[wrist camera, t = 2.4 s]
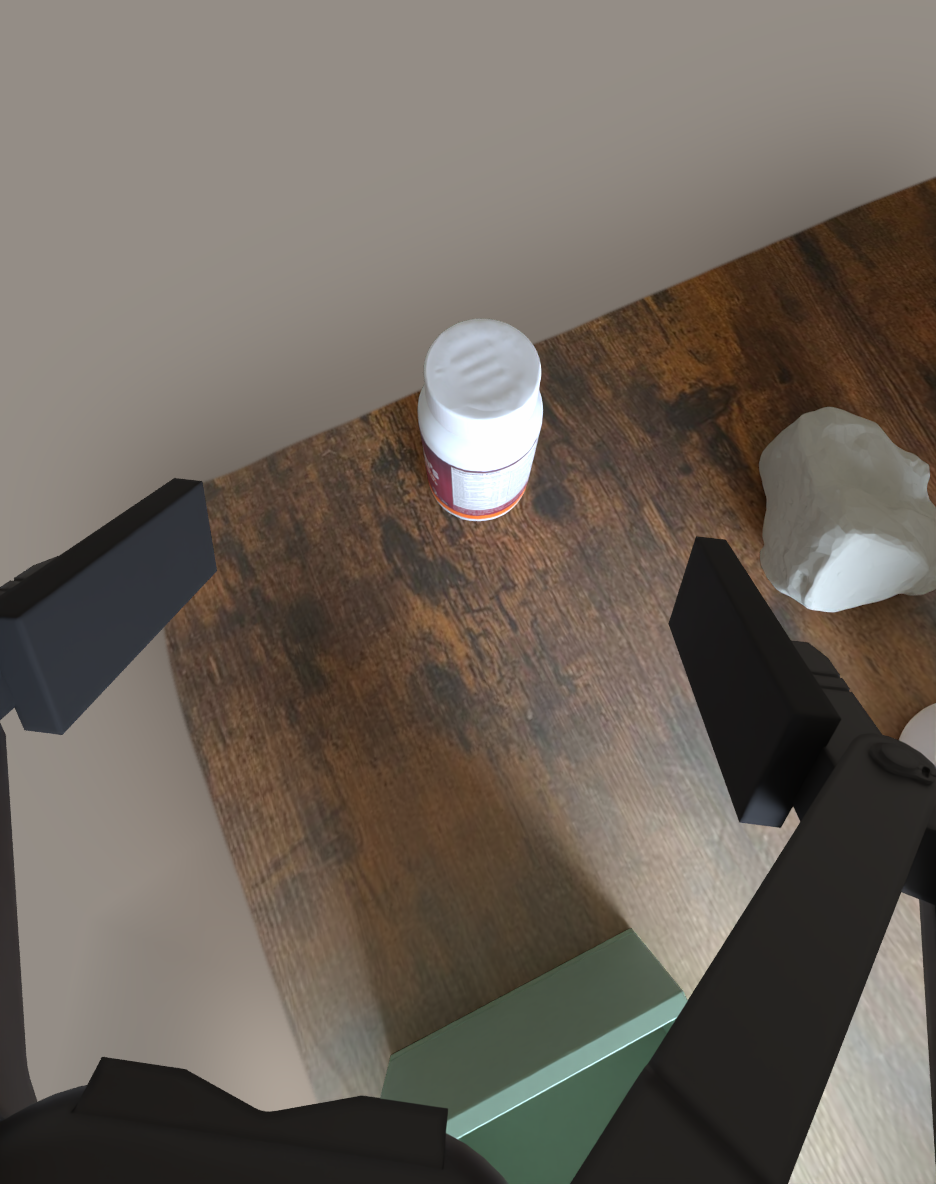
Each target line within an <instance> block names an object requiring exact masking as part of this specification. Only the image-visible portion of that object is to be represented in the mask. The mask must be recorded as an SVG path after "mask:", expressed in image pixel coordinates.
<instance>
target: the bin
mask: <svg viewBox="0 0 936 1184" xmlns="http://www.w3.org/2000/svg"><path fill="white" fill-rule="evenodd" d="M687 1001H688V1000H687V998H686V996H685V994H684V992H683V990H682V989H681V988H680V987H679V985H678V984H677V983H676V982H675V981H674V979H673V978H672V977H671V976H670V974H669V973H668V972H667V971H666V970H665V968H664V967H663V966H662V965H661V964H660V962H659V961H658V960H657V959H656V957H655V956H654V955H653V954H652V953H651V951H650V950H649V949H648V948H647V946H646V945H645V944H644V943H643V942H642V940H641V939H640V938H639V937H638V936H637V934H636V933H635V932H634V931H633V929H632V928H630V929H628V930H626V931H624V932H622V933H621V934H619V935H617V936H615V937H613V938H611V939H609V940H607V941H605V942H604V943H602V944H600V945H598V946H596V947H594V948H592V949H590V950H588V951H587V952H585V953H583V954H581V955H579V956H577V957H575V958H573V959H572V960H570V961H568V962H566V963H564V964H562V965H560V966H558V967H556V968H555V969H553V970H551V971H549V972H547V973H545V974H543V975H541V976H539V977H538V978H536V979H534V980H532V981H530V982H528V983H526V984H524V985H523V986H521V987H519V988H517V989H515V990H513V991H511V992H509V993H507V994H506V995H504V996H502V997H500V998H498V999H496V1000H494V1001H492V1002H490V1003H489V1004H487V1005H485V1006H483V1007H481V1008H479V1009H477V1010H475V1011H474V1012H472V1013H470V1014H468V1015H466V1016H464V1017H462V1018H460V1019H458V1020H457V1021H455V1022H453V1023H451V1024H449V1025H447V1026H445V1027H443V1028H441V1029H440V1030H438V1031H436V1032H434V1033H432V1034H430V1035H428V1036H426V1037H425V1038H423V1039H421V1040H419V1041H417V1042H415V1043H413V1044H411V1045H409V1046H408V1047H406V1048H404V1049H402V1050H400V1051H398V1052H396V1053H394V1054H393V1055H391V1056H390V1060H389V1065H388V1069H387V1073H386V1077H385V1081H384V1085H383V1089H382V1093H381V1097H380V1098H381V1099H388V1100H395V1101H402V1102H408V1103H415V1104H422V1105H428V1106H435V1107H442V1108H448V1117H447V1128H446V1133H447V1134H449V1135H451V1136H452V1137H454V1138H456V1139H458V1140H460V1141H462V1142H463V1143H465V1144H467V1145H468V1146H469V1147H471V1148H472V1149H473V1150H474V1151H476V1152H477V1153H478V1154H480V1155H481V1156H482V1157H484V1158H485V1159H486V1160H487V1161H488V1162H489V1163H490V1164H491V1165H492V1166H493V1167H494V1168H495V1169H496V1170H497V1171H498V1172H499V1173H500V1174H501V1175H502V1176H503V1177H504V1178H505V1180H506V1181H507V1182H508V1184H570V1183H571V1181H572V1180H573V1178H574V1177H575V1175H576V1173H577V1172H578V1170H579V1169H580V1167H581V1166H582V1164H583V1162H584V1161H585V1159H586V1158H587V1156H588V1155H589V1153H590V1151H591V1150H592V1148H593V1147H594V1145H595V1143H596V1142H597V1140H598V1139H599V1137H600V1136H601V1134H602V1132H603V1131H604V1129H605V1128H606V1126H607V1125H608V1123H609V1121H610V1120H611V1118H612V1117H613V1115H614V1113H615V1112H616V1110H617V1109H618V1107H619V1106H620V1104H621V1102H622V1101H623V1099H624V1098H625V1096H626V1095H627V1093H628V1091H629V1090H630V1088H631V1087H632V1085H633V1084H634V1082H635V1081H636V1079H637V1077H638V1076H639V1075H640V1073H641V1072H642V1070H643V1069H644V1067H645V1066H646V1065H647V1064H648V1062H649V1061H650V1059H651V1058H652V1056H653V1055H654V1053H655V1052H656V1050H657V1049H658V1047H659V1045H660V1044H661V1042H662V1041H663V1039H664V1037H665V1036H666V1034H667V1033H668V1031H669V1030H670V1028H671V1026H672V1025H673V1023H674V1022H675V1020H676V1018H677V1017H678V1015H679V1014H680V1012H681V1011H682V1009H683V1007H684V1006H685V1004H686V1003H687Z"/></svg>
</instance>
